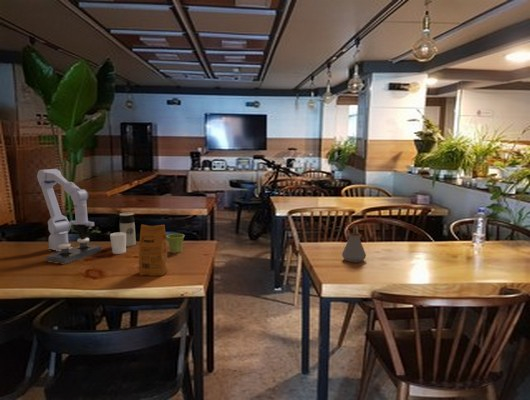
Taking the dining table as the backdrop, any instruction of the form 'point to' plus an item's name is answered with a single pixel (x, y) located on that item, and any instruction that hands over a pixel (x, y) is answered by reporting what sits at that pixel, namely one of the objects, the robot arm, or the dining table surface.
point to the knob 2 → (83, 243)
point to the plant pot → (175, 242)
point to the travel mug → (128, 228)
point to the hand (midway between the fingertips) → (83, 238)
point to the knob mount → (74, 254)
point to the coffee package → (153, 250)
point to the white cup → (118, 242)
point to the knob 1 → (64, 248)
